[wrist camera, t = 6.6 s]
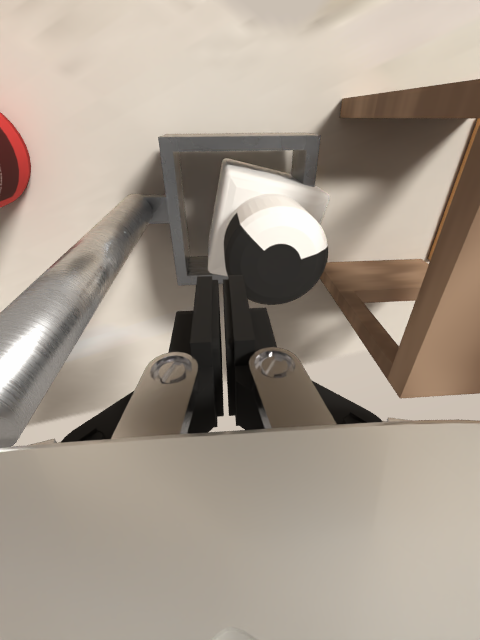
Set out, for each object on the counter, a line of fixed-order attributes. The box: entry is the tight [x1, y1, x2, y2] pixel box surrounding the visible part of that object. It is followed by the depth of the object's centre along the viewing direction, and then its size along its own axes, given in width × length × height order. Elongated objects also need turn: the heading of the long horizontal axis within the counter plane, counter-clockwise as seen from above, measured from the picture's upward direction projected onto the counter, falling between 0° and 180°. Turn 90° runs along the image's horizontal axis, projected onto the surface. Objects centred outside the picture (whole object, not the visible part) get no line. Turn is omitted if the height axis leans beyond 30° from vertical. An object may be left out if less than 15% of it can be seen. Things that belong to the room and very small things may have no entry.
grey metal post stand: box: [0, 133, 321, 448], centre depth 16 cm, size 14×10×21 cm
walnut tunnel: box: [320, 79, 480, 398], centre depth 20 cm, size 11×14×16 cm
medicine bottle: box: [208, 158, 330, 305], centre depth 22 cm, size 7×7×12 cm
